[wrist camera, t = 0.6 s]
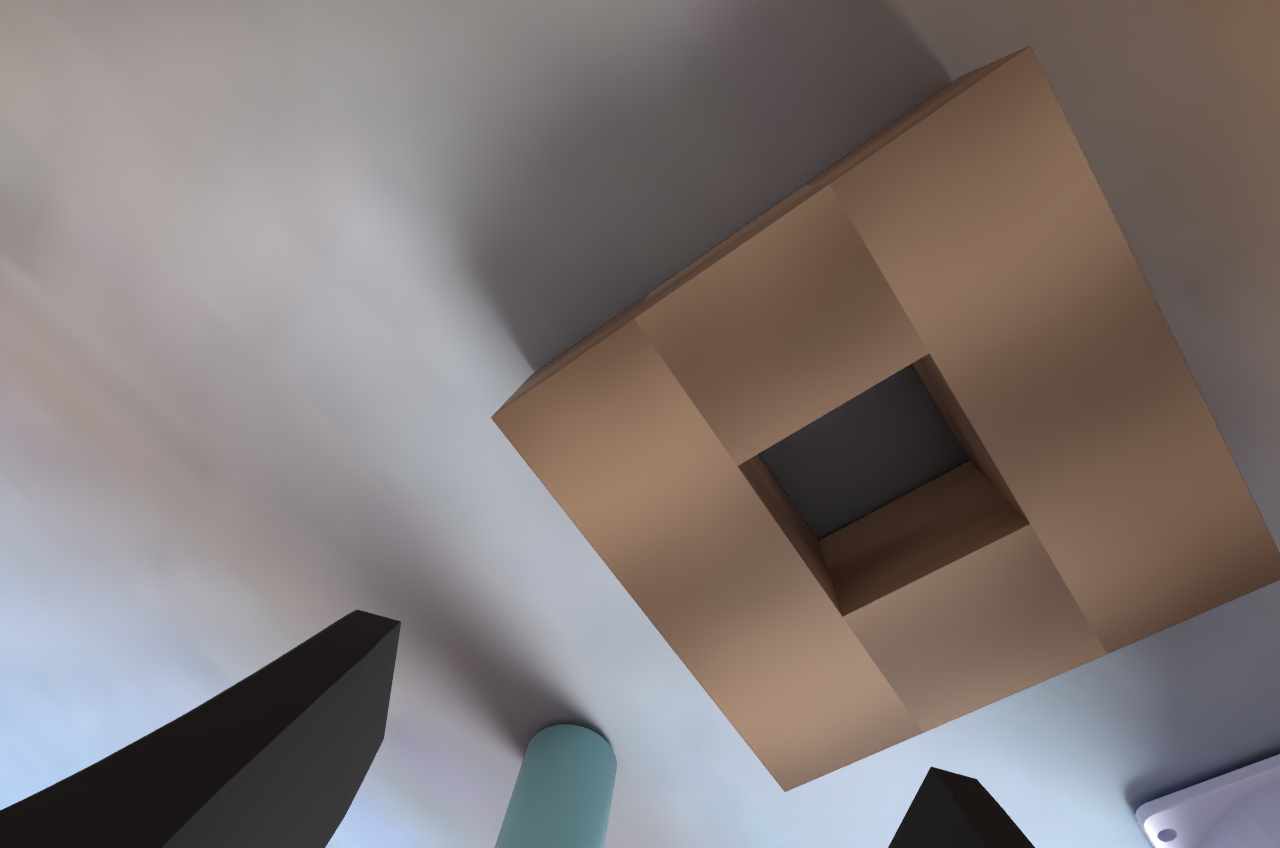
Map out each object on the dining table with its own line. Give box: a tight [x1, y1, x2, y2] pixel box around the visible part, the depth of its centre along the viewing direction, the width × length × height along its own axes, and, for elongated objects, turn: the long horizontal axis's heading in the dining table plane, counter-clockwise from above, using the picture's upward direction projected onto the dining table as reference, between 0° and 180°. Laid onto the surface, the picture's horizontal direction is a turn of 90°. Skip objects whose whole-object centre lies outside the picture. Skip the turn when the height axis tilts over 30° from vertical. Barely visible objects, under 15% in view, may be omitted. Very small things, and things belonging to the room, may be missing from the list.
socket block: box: [491, 46, 1280, 792], centre depth 16 cm, size 12×12×4 cm
